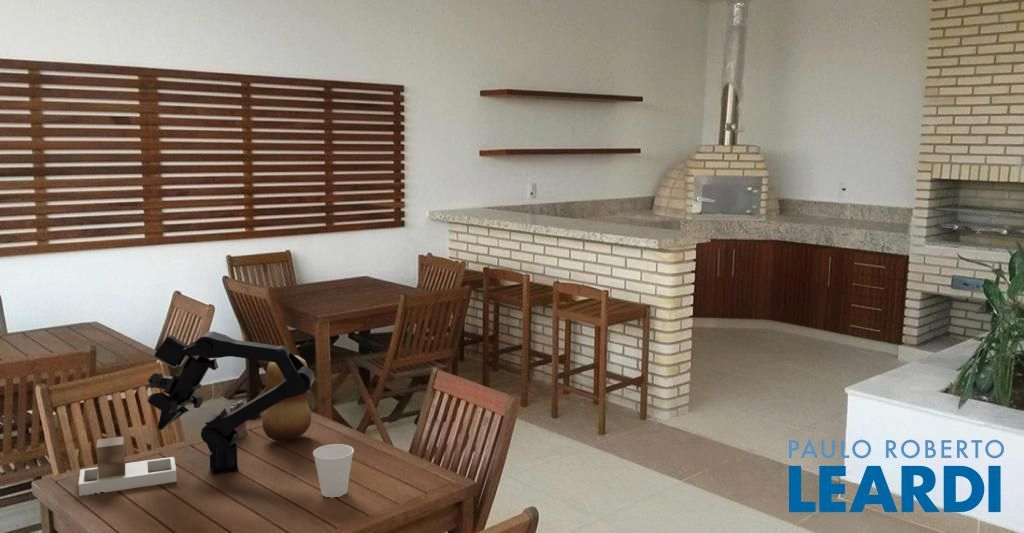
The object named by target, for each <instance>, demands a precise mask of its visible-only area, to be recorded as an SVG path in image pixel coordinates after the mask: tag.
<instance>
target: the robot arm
mask: <svg viewBox="0 0 1024 533" xmlns="http://www.w3.org/2000/svg"><path fill="white" fill-rule="evenodd" d="M295 355H296V354H294V353H293V352H292V351H291V350H290V348H289V347H288V346H286V345H273V344H267V343H259V342H253V341H245V340H238V339H234V338H233V337H230V336H228V335H226V334H223V333H219V332H217V331H207V332H205V333H204V334H202V335H201V336H200V337H199V338H197V339H196V340H195V341H192V342H190V343H189V344H187V343H184V341H181V340H178V338H176V337H175V336H173V335H171V334H169V335H168V336H166V338H165V340H164V341H162V343H161V344H160V346H159V347H158V348H157V350H156V352H155V353H154V355H153V358H154V359H156V360H158V361H161V362H162V363H164V364H165V365H168V366H170V367H171V368H177V367H181V366H182V365H183V364H184V365H183V366H182V368H181V370H180V371H179V373H178V374H174V375H173V376H170V375H165V374H163V373H158V372H154V373H152V374H151V375H150V376H149V378H148V380H147V382H148V384H149V388H151V389H159V390H163V392H155V393H152V394H150V395H149V398H148V399H147V402H148V403H149V404H150V405H152V406H153V407H154V408H156V409H158V410H160V416H159V422H158V425H157V429H158V430H160V431H163V430H164V429H165V428H167V427H169V425H171V424H172V423H173V422H175V421H177V420H178V419H179V418H180V417H182V416H183V415H185V414H186V413H188V412H190V411H189V409H188V408H187V407H186V404H190V403H191V404H192V405H193V408H194V409H198V408H201V406H202V404H203V402H204V399H203V397H202V396H201V395H199V394H198V393H197V392H196V391H197V389H198V390H199V389H201V387H202V384H201V382H202V381H203V379H204V377H205V376H206V374H207V372H208V371H209V369H210V370H212V371H217V369H218V368H219V364H218V362H217V359H220V358H221V359H222V358H226V357H227V358H228V357H234V358H241V359H248V360H256V361H262V362H275V363H276V364H277V366H278V367H279V369H280V371H281V373H282V374H283V376H284V378H285V379H284V380H283V381H282V382H281V383H280V384H279V385H277V386H275V387H274V388H272V389H270V390H269V391H266V392H264V393H262V394H260V395H259V396H256V397H255V398H253V399H252V400H250V401H248V402H246V403H245V404H244V405H242V406H241V407H240V408H238V409H236V410H234V411H232V412H230V411H227V410H226V408H223V409H222V410H220V411H219V412H217V413H215V414H212V415H211V416H210V417H209V418H208V419H207V420H206V422H205V423H204V424H205V425H204V426H203V427H202V428H201V432H200V438H201V439H202V440H201V441H203V442H204V443H205V444H206V446H207V447H208V450H209V452H208V466H209V470H210V471H212V472H211V473H212V475H217V474H223V473H232V472H237V471H239V470H240V468H239V464H238V445H237V443H236V441H237V438H238V435H239V433H238V432H237V431H236V430H234V429H235V428H237V427H238V426H239V425H241V424H242V423H244V422H246V423H247V422H248V421H249V420H251V419H253V418H254V417H257V416H258V415H259V414H261V413H264V411H265V410H266V409H268V408H270V407H271V406H273V405H275V404H277V403H278V402H280V401H282V400H284V399H288V398H292V397H295V396H298V395H301V394H303V393H305V392H307V393H308V391H309V389H310V388H311V386H312V384H314V381H315V373H314V371H313V370H312V369H311V368H309V367H308V366H307V367H306V366H305V365H304V364H303V363H302V361H301V360H300V359H298V358H297V357H296V356H295ZM185 361H186V362H185ZM184 362H185V363H184Z"/></svg>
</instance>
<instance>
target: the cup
mask: <svg viewBox="0 0 1024 533" xmlns="http://www.w3.org/2000/svg"><path fill="white" fill-rule="evenodd" d="M312 451H313V452H312V455H313V457H314V458H313V459H314V462H315V468H316V472H317V477H318V482H319V487H320V493H321V496H323V497H324V496H325V498H326V497H331V498H330V499H334V498H333V497H339V498H341V497H340V496H342V495H344V494H345V495H346V494H347V493H348V487H349V480H350V474H351V467H352V463H353V462H352V461H353V455H354V453H355V450H354V447H353V446H351V445H347V444H342V443H334V444H333V443H332V444H330V443H329V444H326V445H322V446H319V447H317V448H315V449H314V450H312ZM345 495H344V496H345ZM342 497H343V496H342Z"/></svg>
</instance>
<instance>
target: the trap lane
mask: <svg viewBox="0 0 1024 533" xmlns="http://www.w3.org/2000/svg"><path fill="white" fill-rule="evenodd" d="M177 480H178V479H177V467H176V459H175V456H171V457H163V458H155V459H148V460H141V461H134V462H133V461H132V462H127V463H126V462H125V475H121V476H114V477H107V478H100V479H99V478H98V466H97V467H90V468H83V469H80V471H79V479H78V483H77V484H78V495H79V496H78V497H83V495H84V496H90V494H91V495H95V494H94V493H97V494H101V493H100V492H104V493H110V492H118V491H123V490H130V489H134V488H135V489H136V488H142V487H150V486H157V485H162V484H163V485H164V484H169V483H177Z"/></svg>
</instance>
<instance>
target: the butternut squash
mask: <svg viewBox="0 0 1024 533" xmlns="http://www.w3.org/2000/svg"><path fill="white" fill-rule="evenodd" d="M294 355H295V356H296V357H297V358H298V359H300V360H301V361H302V363H303V364H304V365H305V366H306V367H308V364H307V361H306V360H305V359H304V358H303V357H300V356H299V355H296V354H294ZM268 362H269V361H268ZM284 379H285V378H284V376H283V374H282V373H281V371H280V369H279V367H278V366H277V364H276V363H275V362H269V363H268V365H267V368H266V374H265V391H266V392H267V391H269V390H270V389H272V388H274V387H275V386H277V385H279V384H280V383H281V382H282V381H283V380H284ZM307 393H308V391H307V392H305V393H303V394H301V395H298V396H295V397H292V398H288V399H284V400H282V401H280V402H278V403H277V404H275V405H273V406H271V407H270V408H268V409H266V410H265V411H263V415H262V430H263V431H264V433H265V435H266V436H267V437H268V438H269V439H271V440H272V441H278V442H293V441H295V440H297V439H298V438H299V437H301V436H302V435H304V434H305V433H306V432H307V431H308V430H309V429H310V426H311V422H312V413H311V408H310V406H309V405H310V404H309V402H308V400H307Z"/></svg>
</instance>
